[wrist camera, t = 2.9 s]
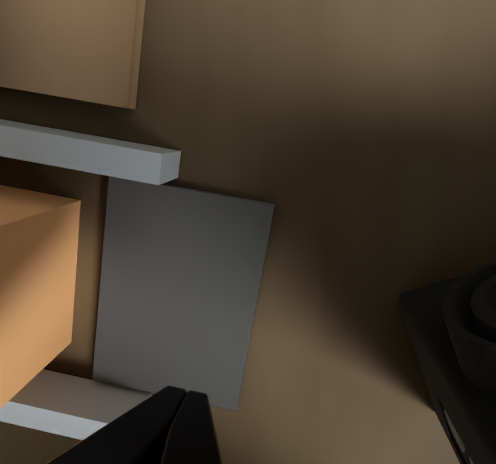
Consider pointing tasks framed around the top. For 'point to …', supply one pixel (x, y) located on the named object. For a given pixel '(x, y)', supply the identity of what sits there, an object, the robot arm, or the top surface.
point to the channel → (49, 382)
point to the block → (35, 282)
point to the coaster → (73, 48)
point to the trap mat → (179, 288)
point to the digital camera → (459, 357)
